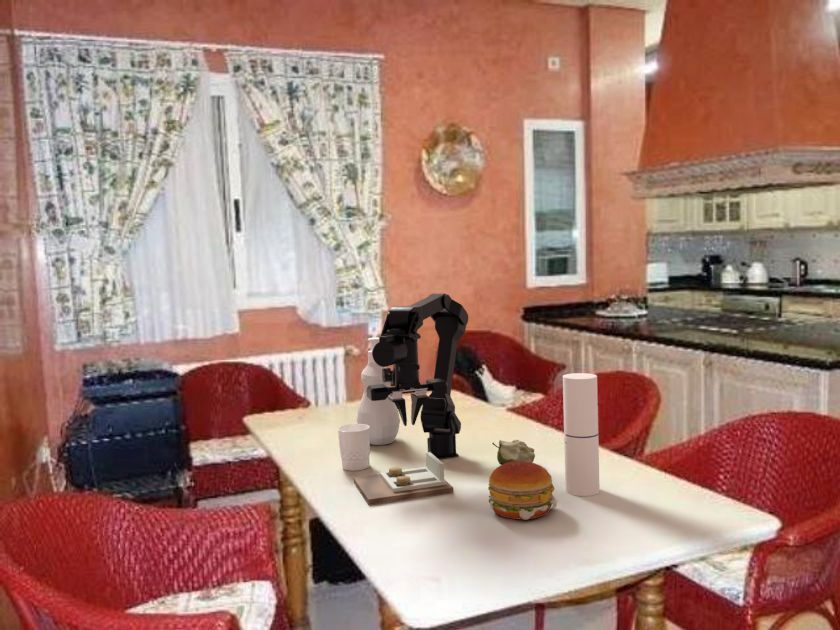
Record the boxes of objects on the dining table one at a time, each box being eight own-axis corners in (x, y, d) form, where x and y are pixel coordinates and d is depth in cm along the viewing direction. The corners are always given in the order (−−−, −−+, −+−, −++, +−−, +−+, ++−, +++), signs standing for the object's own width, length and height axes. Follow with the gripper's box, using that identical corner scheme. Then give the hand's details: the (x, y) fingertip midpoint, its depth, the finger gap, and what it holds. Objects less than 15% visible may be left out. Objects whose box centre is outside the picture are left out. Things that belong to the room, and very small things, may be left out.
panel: (429, 469, 169) (428, 451, 168) (445, 484, 157) (445, 464, 157) (380, 476, 165) (379, 457, 165) (393, 492, 154) (392, 471, 153)
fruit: (490, 475, 171) (486, 441, 172) (512, 469, 178) (508, 436, 179) (522, 474, 165) (517, 439, 166) (544, 468, 172) (539, 434, 172)
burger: (486, 501, 150) (484, 454, 149) (551, 499, 149) (549, 452, 149) (490, 525, 137) (488, 474, 136) (561, 523, 136) (560, 472, 135)
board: (431, 472, 171) (430, 458, 171) (453, 492, 156) (452, 477, 155) (353, 482, 166) (352, 468, 165) (368, 505, 150) (367, 489, 150)
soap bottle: (409, 445, 195) (404, 339, 193) (369, 451, 191) (363, 343, 189) (388, 432, 211) (383, 333, 208) (351, 437, 207) (345, 337, 204)
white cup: (366, 472, 173) (364, 431, 172) (335, 471, 175) (333, 431, 174) (375, 462, 181) (373, 423, 180) (345, 461, 183) (343, 423, 182)
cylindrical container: (580, 498, 149) (577, 380, 147) (558, 489, 155) (555, 375, 153) (606, 491, 152) (604, 376, 150) (584, 483, 158) (581, 371, 156)
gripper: (433, 352, 178) (436, 414, 179) (360, 359, 172) (363, 422, 174) (447, 358, 167) (450, 423, 168) (370, 365, 162) (373, 432, 163)
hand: (409, 425), depth 169 cm, fingers closed
